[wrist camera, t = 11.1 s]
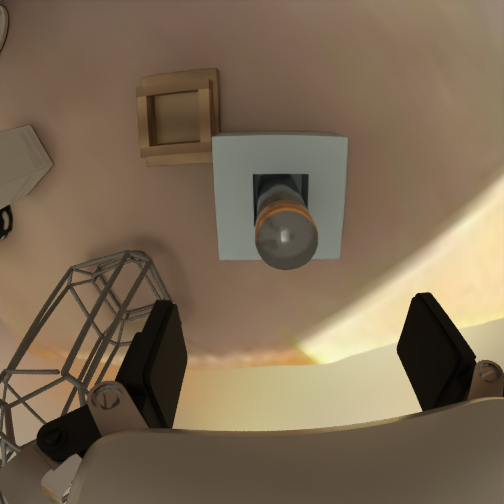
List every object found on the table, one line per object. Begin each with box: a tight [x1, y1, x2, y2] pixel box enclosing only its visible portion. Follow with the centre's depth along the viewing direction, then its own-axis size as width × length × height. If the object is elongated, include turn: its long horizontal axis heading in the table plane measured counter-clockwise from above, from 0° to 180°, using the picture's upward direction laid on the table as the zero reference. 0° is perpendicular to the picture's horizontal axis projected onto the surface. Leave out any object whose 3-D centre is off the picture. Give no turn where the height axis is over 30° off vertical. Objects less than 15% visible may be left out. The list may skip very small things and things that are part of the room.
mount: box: [136, 68, 220, 167], centre depth 28 cm, size 10×8×4 cm
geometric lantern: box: [0, 250, 182, 504], centre depth 24 cm, size 16×16×35 cm
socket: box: [212, 131, 348, 260], centre depth 31 cm, size 12×12×6 cm
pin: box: [255, 174, 318, 270], centre depth 26 cm, size 4×4×14 cm
